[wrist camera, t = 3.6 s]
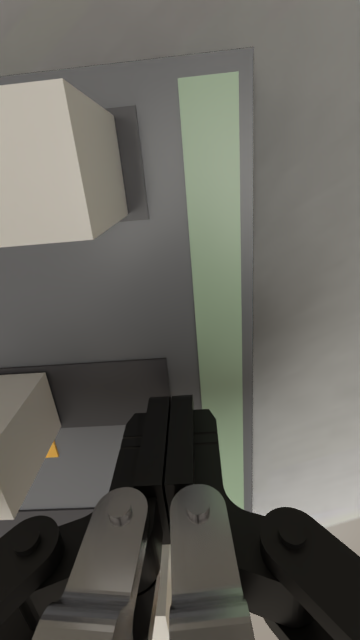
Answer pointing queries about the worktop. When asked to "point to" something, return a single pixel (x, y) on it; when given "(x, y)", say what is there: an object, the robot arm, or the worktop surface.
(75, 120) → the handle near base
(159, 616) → the handle outer
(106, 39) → the worktop surface
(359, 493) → the worktop surface
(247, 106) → the breaker panel
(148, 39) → the worktop surface
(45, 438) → the handle
